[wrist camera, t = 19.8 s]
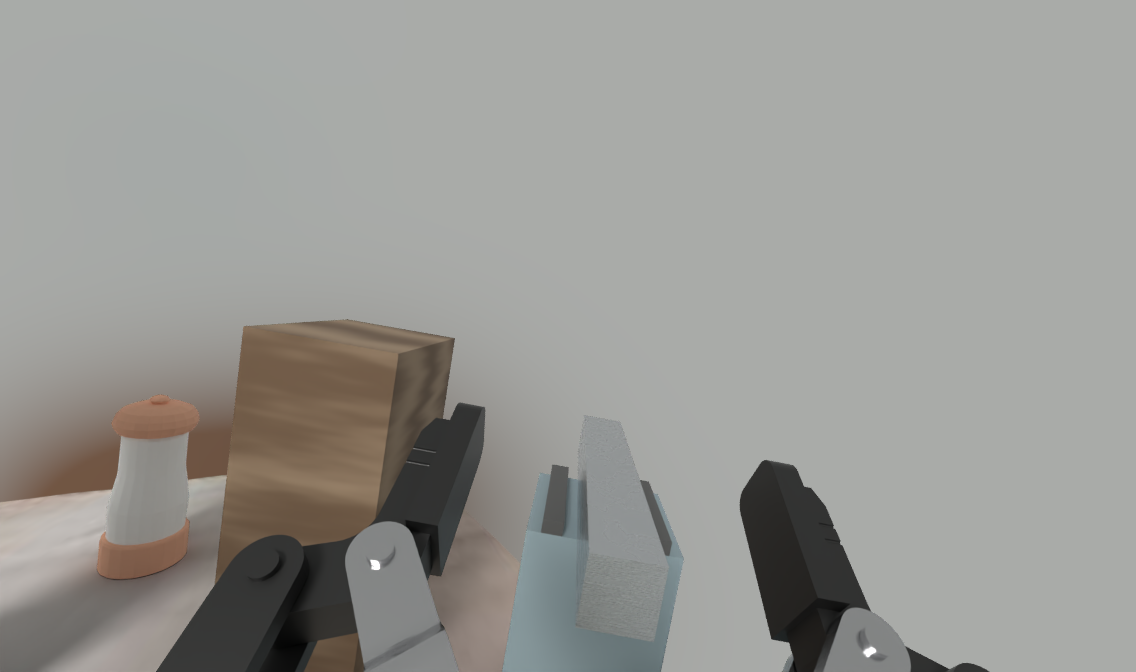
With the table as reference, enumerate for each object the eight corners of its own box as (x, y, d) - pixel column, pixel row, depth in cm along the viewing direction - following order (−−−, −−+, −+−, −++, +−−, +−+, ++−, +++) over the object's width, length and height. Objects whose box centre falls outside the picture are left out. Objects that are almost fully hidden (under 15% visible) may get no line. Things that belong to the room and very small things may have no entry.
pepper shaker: (76, 571, 45) (91, 396, 44) (149, 534, 52) (163, 383, 51) (138, 586, 45) (156, 409, 43) (203, 547, 52) (220, 394, 50)
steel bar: (578, 450, 47) (584, 415, 47) (613, 456, 47) (620, 421, 47) (575, 627, 21) (589, 552, 21) (653, 642, 21) (669, 567, 21)
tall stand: (306, 634, 42) (347, 318, 40) (414, 655, 42) (463, 338, 40) (171, 797, 28) (222, 325, 26) (332, 828, 28) (399, 357, 26)
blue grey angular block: (504, 681, 41) (541, 462, 39) (616, 702, 41) (659, 483, 39) (479, 801, 31) (528, 516, 29) (628, 830, 31) (686, 545, 29)
